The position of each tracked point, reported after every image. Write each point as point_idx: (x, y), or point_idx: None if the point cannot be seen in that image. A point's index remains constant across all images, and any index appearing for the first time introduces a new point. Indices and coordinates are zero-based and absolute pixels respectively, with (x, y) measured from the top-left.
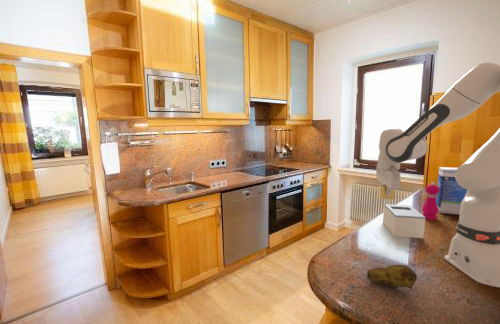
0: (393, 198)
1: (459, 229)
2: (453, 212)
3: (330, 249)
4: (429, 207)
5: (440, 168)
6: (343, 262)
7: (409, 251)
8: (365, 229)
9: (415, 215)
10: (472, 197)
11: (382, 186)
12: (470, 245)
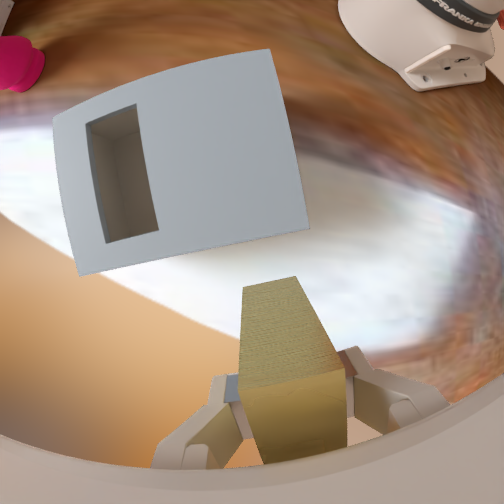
0: (296, 284)
1: (475, 24)
2: (2, 24)
3: None
4: (11, 57)
5: None
6: (477, 357)
7: (409, 183)
8: None
9: (258, 96)
10: None
11: None
12: (483, 40)
